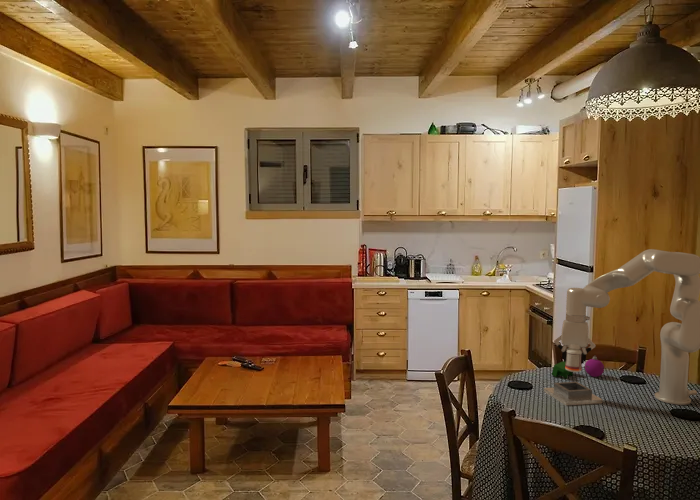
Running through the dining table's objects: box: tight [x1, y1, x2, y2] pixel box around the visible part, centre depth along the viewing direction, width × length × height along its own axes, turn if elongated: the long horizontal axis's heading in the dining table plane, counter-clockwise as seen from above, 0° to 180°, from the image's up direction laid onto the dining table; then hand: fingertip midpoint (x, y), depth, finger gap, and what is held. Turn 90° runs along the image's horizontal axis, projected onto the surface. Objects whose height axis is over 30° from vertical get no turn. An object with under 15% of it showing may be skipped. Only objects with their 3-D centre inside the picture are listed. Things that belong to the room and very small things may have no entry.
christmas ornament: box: [584, 356, 605, 378], centre depth 243 cm, size 8×8×10 cm
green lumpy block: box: [551, 360, 574, 379], centre depth 243 cm, size 12×6×9 cm, turn 126°
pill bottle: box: [565, 344, 583, 373], centre depth 215 cm, size 6×6×11 cm
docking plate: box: [543, 381, 603, 407], centre depth 216 cm, size 16×16×4 cm
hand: (573, 361), depth 215 cm, fingers closed on pill bottle, 6 cm apart
